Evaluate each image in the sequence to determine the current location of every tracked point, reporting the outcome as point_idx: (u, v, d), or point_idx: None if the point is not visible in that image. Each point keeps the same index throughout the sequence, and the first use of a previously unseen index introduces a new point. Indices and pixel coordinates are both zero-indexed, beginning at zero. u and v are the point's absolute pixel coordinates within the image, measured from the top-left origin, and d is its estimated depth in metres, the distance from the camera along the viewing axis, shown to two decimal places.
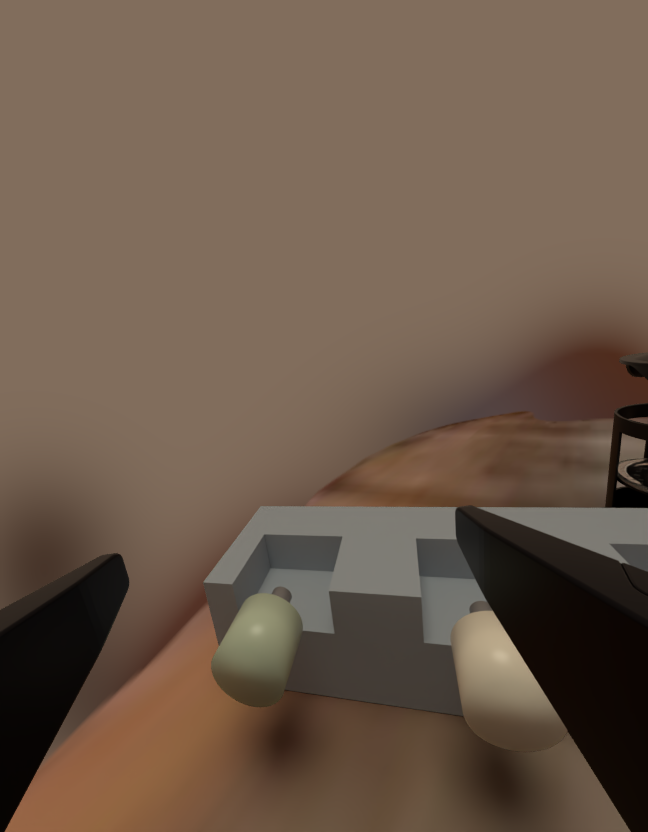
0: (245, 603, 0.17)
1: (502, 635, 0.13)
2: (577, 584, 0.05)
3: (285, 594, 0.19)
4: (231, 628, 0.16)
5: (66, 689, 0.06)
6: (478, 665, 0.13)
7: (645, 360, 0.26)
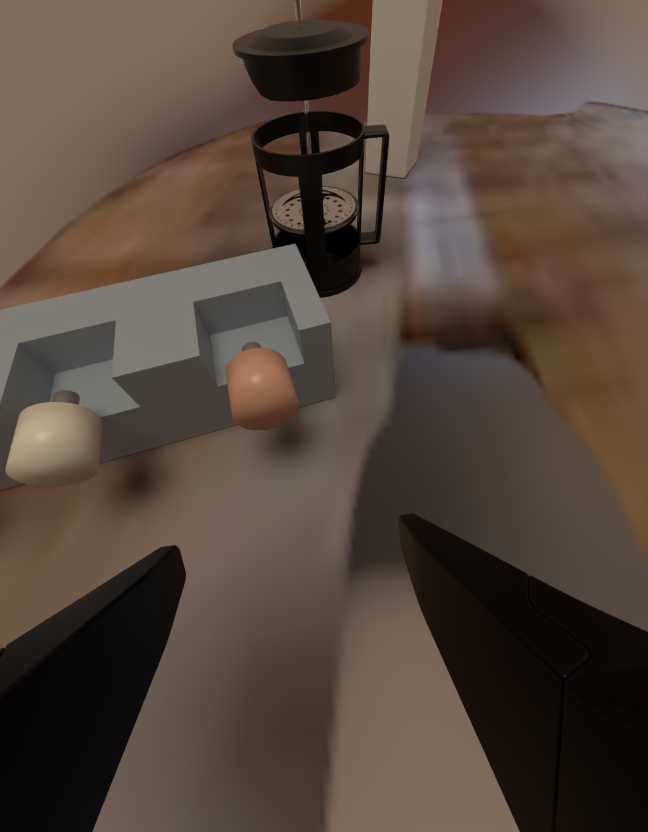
0: None
1: (33, 423, 0.16)
2: (478, 597, 0.05)
3: None
4: None
5: (141, 679, 0.06)
6: (10, 453, 0.15)
7: (248, 44, 0.21)
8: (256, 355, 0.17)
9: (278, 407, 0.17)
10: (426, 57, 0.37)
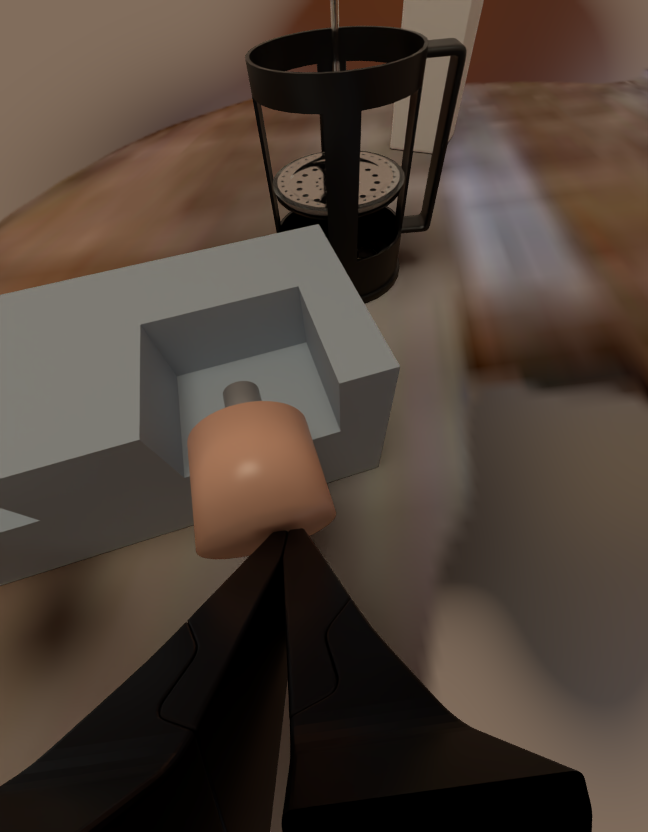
0: None
1: None
2: (288, 624, 0.05)
3: None
4: None
5: (284, 659, 0.06)
6: None
7: None
8: (248, 419, 0.08)
9: (294, 525, 0.08)
10: None
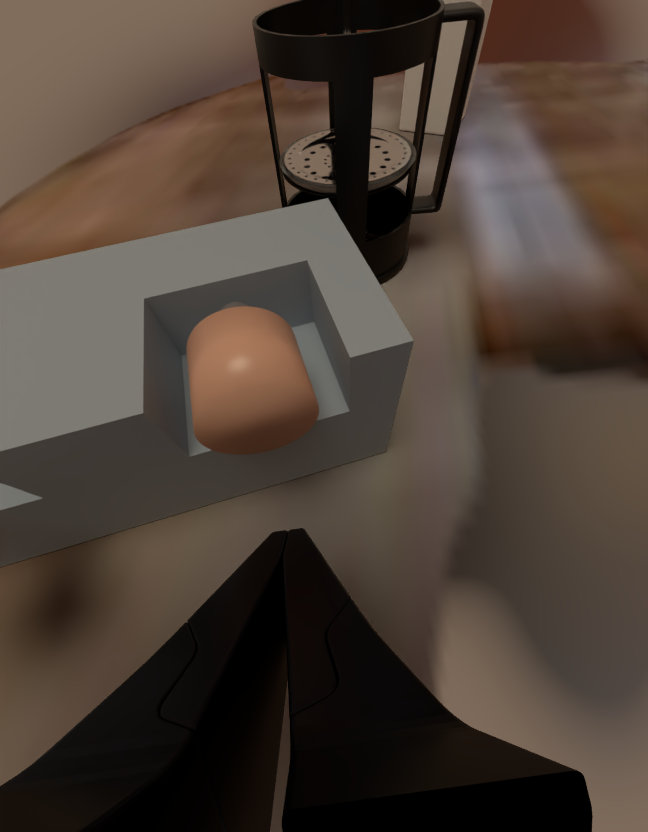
0: None
1: None
2: (288, 624, 0.05)
3: None
4: None
5: (284, 659, 0.06)
6: None
7: None
8: (240, 319, 0.09)
9: (281, 416, 0.09)
10: None
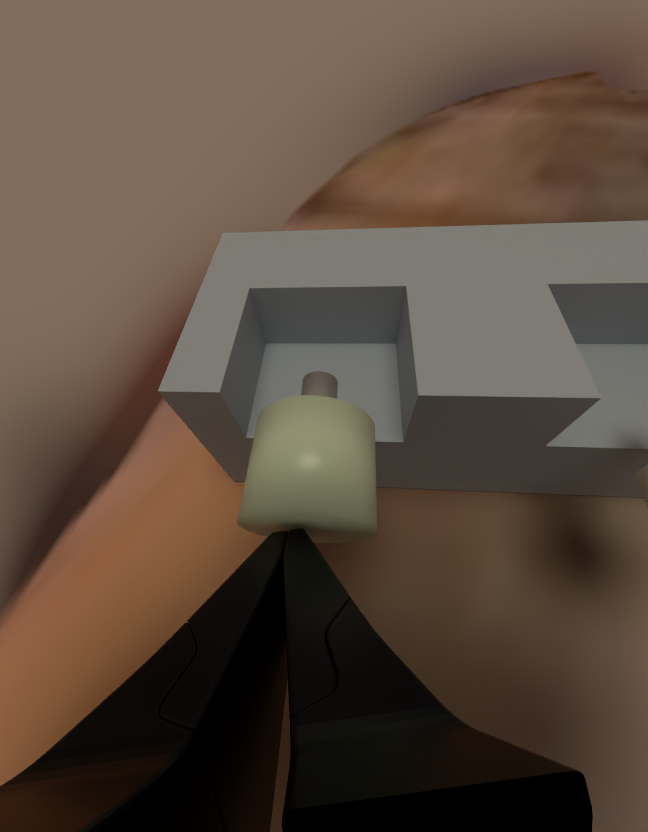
0: (271, 415, 0.09)
1: None
2: (288, 624, 0.05)
3: (331, 384, 0.10)
4: (261, 467, 0.08)
5: (284, 659, 0.06)
6: None
7: None
8: None
9: None
10: None
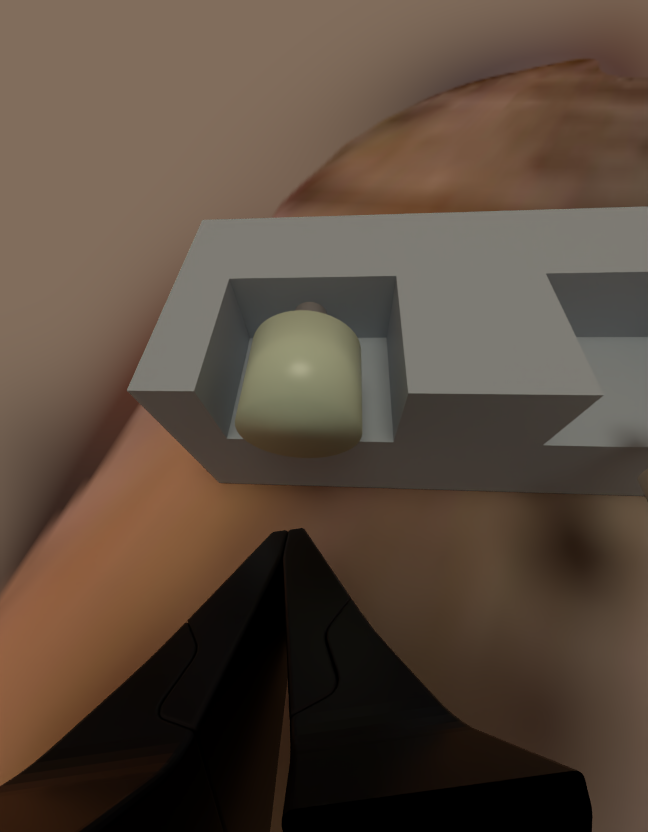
0: (264, 329, 0.09)
1: None
2: (288, 624, 0.05)
3: (320, 313, 0.11)
4: (256, 370, 0.09)
5: (284, 659, 0.06)
6: None
7: None
8: None
9: None
10: None
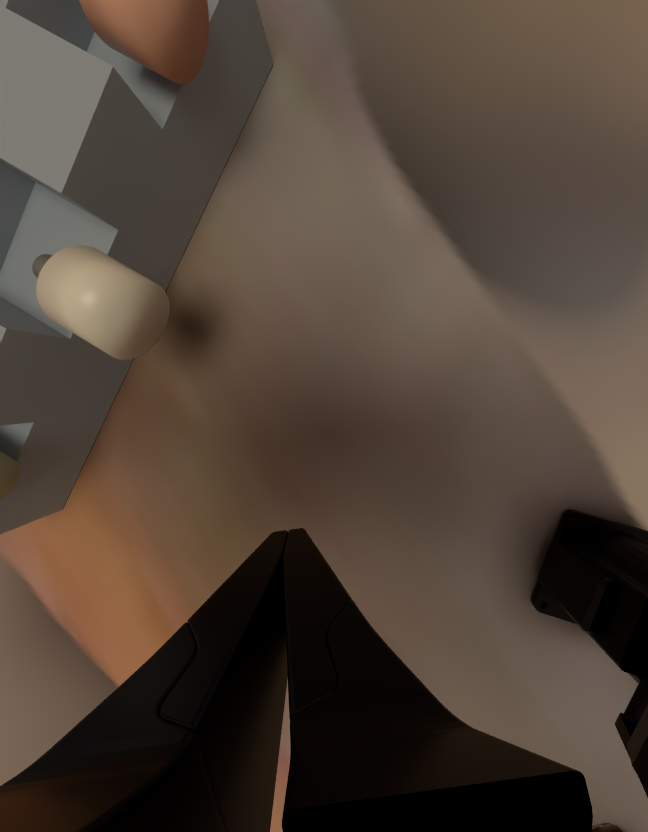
0: None
1: (66, 286, 0.12)
2: (288, 624, 0.05)
3: None
4: None
5: (284, 659, 0.06)
6: (87, 331, 0.12)
7: None
8: None
9: None
10: None
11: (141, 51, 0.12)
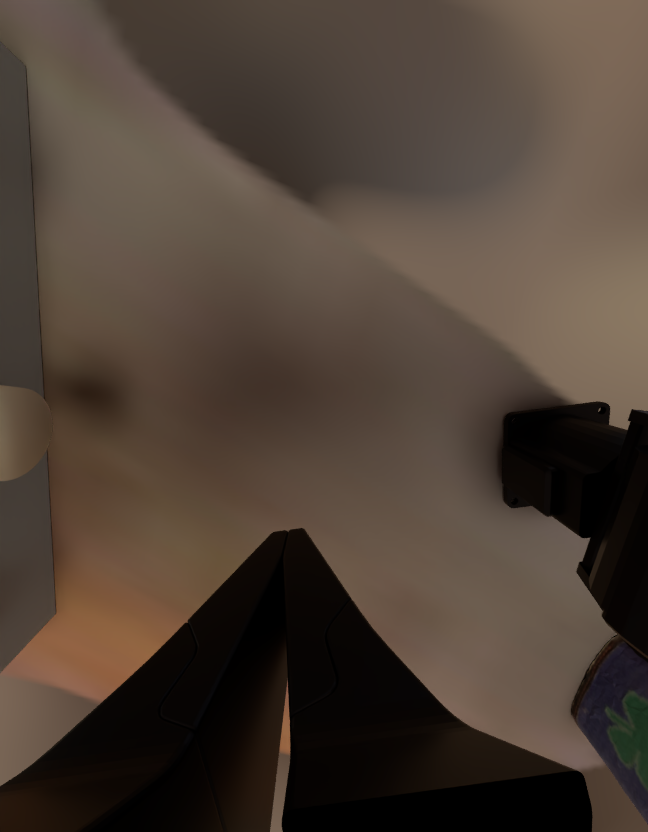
0: None
1: None
2: (288, 624, 0.05)
3: None
4: None
5: (284, 659, 0.06)
6: None
7: None
8: None
9: None
10: None
11: None
